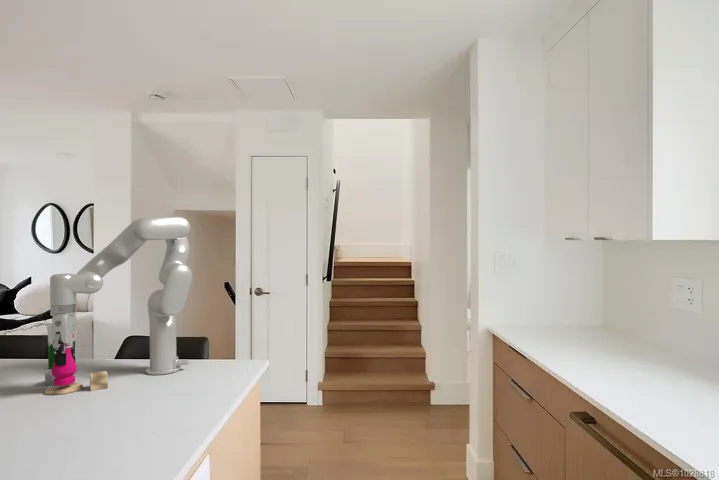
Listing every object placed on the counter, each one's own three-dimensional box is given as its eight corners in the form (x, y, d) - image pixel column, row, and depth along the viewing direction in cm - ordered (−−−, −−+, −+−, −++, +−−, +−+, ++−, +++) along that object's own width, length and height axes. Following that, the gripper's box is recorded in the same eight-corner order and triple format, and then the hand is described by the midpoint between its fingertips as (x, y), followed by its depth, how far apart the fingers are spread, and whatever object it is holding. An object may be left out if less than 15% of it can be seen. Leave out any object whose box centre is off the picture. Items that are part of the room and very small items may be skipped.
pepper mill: (64, 386, 152) (63, 326, 152) (46, 385, 154) (45, 326, 154) (81, 380, 159) (81, 322, 159) (64, 379, 161) (63, 322, 161)
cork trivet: (87, 383, 163) (87, 381, 163) (76, 393, 152) (76, 391, 152) (52, 386, 160) (52, 384, 160) (38, 396, 149) (38, 394, 149)
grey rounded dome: (66, 377, 170) (65, 366, 170) (76, 380, 166) (75, 369, 165) (41, 384, 164) (40, 373, 163) (51, 388, 159) (50, 376, 159)
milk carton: (68, 369, 184) (67, 319, 184) (44, 370, 183) (43, 320, 183) (79, 363, 193) (78, 316, 193) (56, 364, 192) (55, 316, 192)
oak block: (106, 385, 161) (106, 370, 161) (107, 388, 157) (107, 374, 157) (89, 387, 159) (89, 373, 159) (90, 391, 154) (90, 376, 154)
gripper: (66, 312, 149) (67, 368, 149) (84, 306, 166) (85, 356, 166) (40, 314, 147) (41, 370, 147) (61, 307, 164) (61, 358, 164)
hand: (64, 362), depth 156 cm, fingers closed on pepper mill, 5 cm apart
